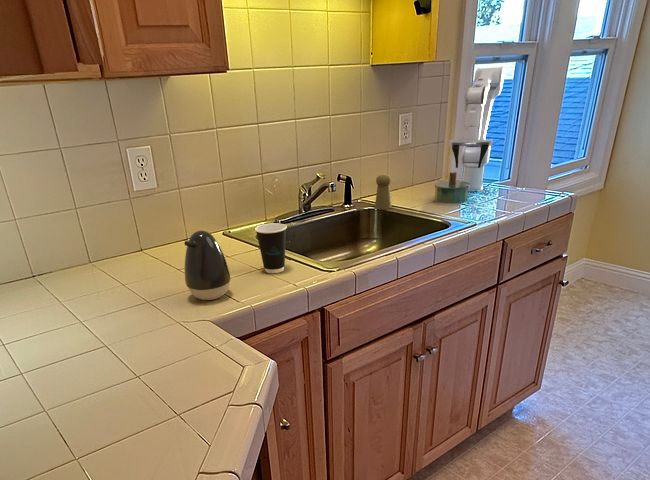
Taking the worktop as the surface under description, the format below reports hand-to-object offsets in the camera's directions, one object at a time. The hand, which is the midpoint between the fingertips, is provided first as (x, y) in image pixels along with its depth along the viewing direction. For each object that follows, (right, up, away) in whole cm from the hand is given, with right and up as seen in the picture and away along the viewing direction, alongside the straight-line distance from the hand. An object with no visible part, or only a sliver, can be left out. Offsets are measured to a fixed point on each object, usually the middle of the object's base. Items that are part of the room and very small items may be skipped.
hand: (467, 167), depth 180 cm
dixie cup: (-67, -46, -52) cm, 96 cm away
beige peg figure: (-31, -15, -1) cm, 34 cm away
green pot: (-6, -12, +1) cm, 13 cm away
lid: (-6, -7, -2) cm, 10 cm away
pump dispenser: (-81, -55, -65) cm, 117 cm away
